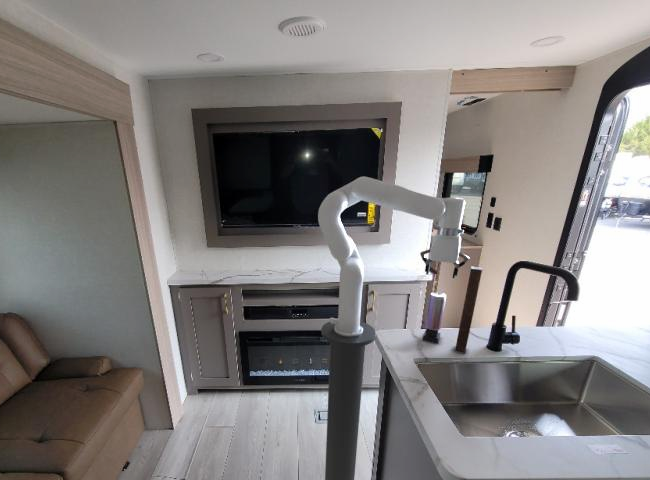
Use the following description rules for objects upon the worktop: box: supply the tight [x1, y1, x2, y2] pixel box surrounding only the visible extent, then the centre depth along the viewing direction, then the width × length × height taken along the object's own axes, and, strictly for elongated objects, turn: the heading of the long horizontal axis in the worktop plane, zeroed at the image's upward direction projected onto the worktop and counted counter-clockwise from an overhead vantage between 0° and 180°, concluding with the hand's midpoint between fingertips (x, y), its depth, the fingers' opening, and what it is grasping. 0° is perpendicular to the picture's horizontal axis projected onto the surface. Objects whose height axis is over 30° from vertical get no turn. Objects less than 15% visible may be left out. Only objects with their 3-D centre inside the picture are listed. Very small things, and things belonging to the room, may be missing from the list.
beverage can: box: [425, 291, 447, 331], centre depth 134 cm, size 6×6×15 cm
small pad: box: [425, 328, 440, 337], centre depth 137 cm, size 4×4×3 cm
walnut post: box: [454, 265, 484, 354], centre depth 124 cm, size 4×4×34 cm
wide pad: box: [422, 329, 441, 344], centre depth 138 cm, size 6×6×2 cm
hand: (440, 275), depth 129 cm, fingers open, 9 cm apart
